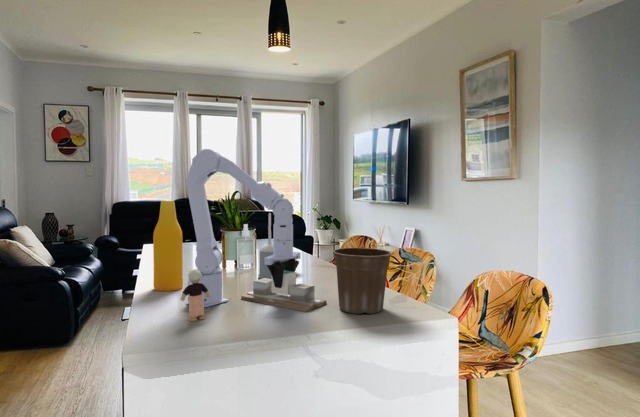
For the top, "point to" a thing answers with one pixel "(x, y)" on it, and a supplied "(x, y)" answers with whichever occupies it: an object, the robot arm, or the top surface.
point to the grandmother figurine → (195, 296)
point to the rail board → (284, 296)
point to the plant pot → (361, 279)
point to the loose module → (285, 283)
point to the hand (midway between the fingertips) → (283, 286)
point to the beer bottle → (168, 250)
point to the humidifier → (266, 254)
